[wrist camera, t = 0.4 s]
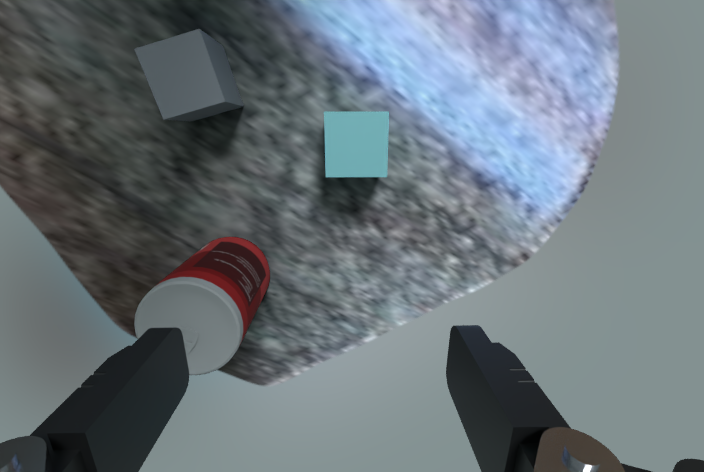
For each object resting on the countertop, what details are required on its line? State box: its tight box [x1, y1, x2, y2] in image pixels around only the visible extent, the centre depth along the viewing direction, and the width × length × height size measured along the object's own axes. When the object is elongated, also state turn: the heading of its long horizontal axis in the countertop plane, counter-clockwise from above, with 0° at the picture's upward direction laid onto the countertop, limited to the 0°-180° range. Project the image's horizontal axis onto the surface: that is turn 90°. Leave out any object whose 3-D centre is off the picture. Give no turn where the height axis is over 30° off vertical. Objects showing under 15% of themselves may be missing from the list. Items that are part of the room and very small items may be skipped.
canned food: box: [134, 237, 270, 375], centre depth 29 cm, size 8×8×11 cm
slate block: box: [134, 29, 244, 122], centre depth 27 cm, size 5×5×5 cm
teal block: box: [324, 112, 389, 177], centre depth 29 cm, size 5×5×5 cm
